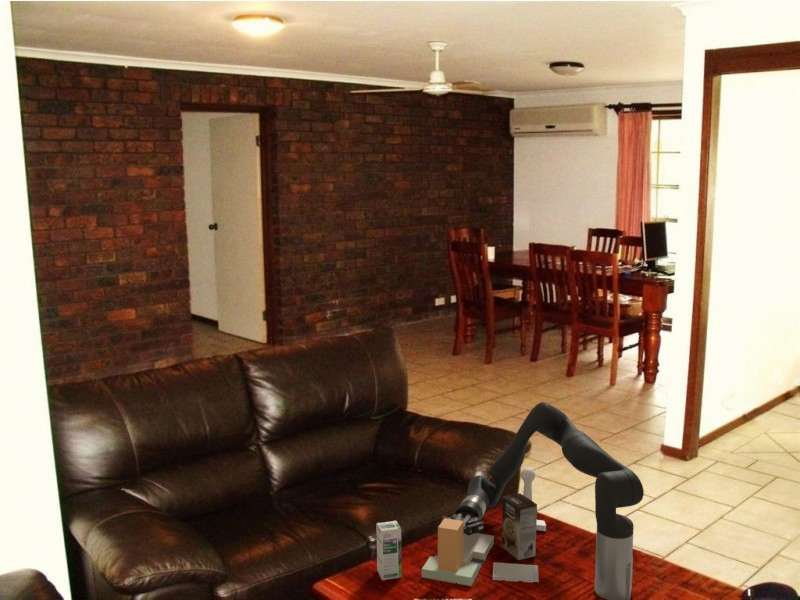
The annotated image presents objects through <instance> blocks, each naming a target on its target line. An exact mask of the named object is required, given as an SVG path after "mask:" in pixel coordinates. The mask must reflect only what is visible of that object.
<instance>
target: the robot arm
mask: <svg viewBox="0 0 800 600" xmlns="http://www.w3.org/2000/svg"><path fill="white" fill-rule="evenodd" d="M536 432H537V433H538V434H541V435H542V436H544V437H545V438H548V439H549V440H551V441H553V442H555V443H556V444H557V445H559V446H560V447H561V452H562V456H564V458H565V459H566V461H567V462H569V464H570V465H571V466H572V467H573V468H575V469H576V470H577V471H578V472H580V473H583V474H584V475H587V476H590V477H593V478H595V484H594V500H595V501H594V503H595V506H594V507H595V508H594V509H595V510H594V511H595V512H594V513H595V519H596V520H595V521H596V540H595V542H596V543H595V567H594V569H595V570H594V592H595V593H596V595H597V596H599V597H600V598H602V599H605V600H631V596H632V587H633V564H634V563H633V562H634V558H633V552H634V551H633V550H634V549H633V548H634V530H635V529H634V528H635V527H634V522H633V520H632V519H630V518H629V517H627V516H625V515H623V514H620V513H617V509H618V508H627V507H633V506H636V505H638V504H640V503H641V502H642V500H643V498H644V495H645V494H644V493H645V491H644V486H643V483H642V481H641V480H640V478H639V476H638V475H637V474H636V473H635V472H634V471H633V470H632V469H630V468H628V467H627V466H625V465H624V464H622V463H621V462H620V461H618V460H616V459H615V458H614V457H613V456H612V455H610V454H609V453H608V452H607V451H605V450H604V449H603V448H601V446H600V445H599V444H598V443H597V442H595V440H593V439H592V438H591V437H590V436H589V435H588V434H586V433H585V432H584V431H582V430H580V429H578V428H577V427H576V425H574V423H573V422H572V421H571V419H570V418H569V417H568V416H567V415H566V413H564V412H563V411H561V410H560V409H558V408H557V407H555V406H553V405H551V404H550V403H548V402H545V401H542V402H539V403H537V404H535V406H534V407H533V408H532V409H531V410H530V411H529V413H528V414H527V416H526V418H525V419H524V421H523V422H522V424H521V425H520V427H519V428H518V430H517V431H516V432H515V435H514V436H513V438H512V440H511V442H510V443H509V444H508V446H507V447H506V449H505V450H504V451H503V452H502V453H501V455H500V456H499V457H498V458H497V459H496V461H495V462H494V463H492V465H491V466H490V468H489V470H488V471H489V474H490V476H491V478H492V479H493V480H494V483H495V484H493V482H492V481H491V480H489V479H488V478H487V477H485V476H484V475H483V474H482V475H481V474H478V475H475V476H474V477H473V478H471V480H470V481H469V484H468V486H467V495H466V497H465V498H463V499H462V501H461V503H459V506H458V507H457V508H456V510H455V511H454V513H453V515H451V516H450V517H447V515H443V516H442V521H443V520H444V518H447V519H453V520H460V521H464V523H463V535H464V534H466V535H472V534H475V533H481V532H484V530H485V529H484V528H485V524H484V521H482V519H483V518H484V516H485V512H486V510H487V509H488V508H493V507H494V506H496V505H497V503H498V502H499V500H500V498H501V496H502V494H503V491H504V489H505V487H506V485H507V484H508V483H509V481H510V480H511V479H512V478H513V477H514V476H515V474H517V472H518V471H519V470H520V468H521V467H522V465H523V463H524V460H525V454H526V449H527V445H528V443H529V440H530V438H532V436H533V435H534V434H535V433H536Z"/></svg>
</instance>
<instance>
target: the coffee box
mask: <svg viewBox="0 0 800 600" xmlns="http://www.w3.org/2000/svg"><path fill="white" fill-rule="evenodd" d="M501 515H502V517H501V518H502V519H501V520H502V522H501V523H502V524H501V525H502V527H501V529H502V531H501V547H502V549H504V550H505V551H506V552H507V553H509V554H510V555H511V556H512V557H513V558H515V559H516V560H518V561H521V560H525V559H529V558H533V557H536V552H537V550H536V548H537V530H536V524H537V520H538V504H537V503H536V502H534V501H533V500H532V501H531V500H530V499H528V498H527V497H525V496H524V495H523V493H520V492H519V493H513V494H507V495H504V496H503V495H502V513H501Z"/></svg>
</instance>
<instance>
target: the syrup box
mask: <svg viewBox="0 0 800 600" xmlns="http://www.w3.org/2000/svg"><path fill="white" fill-rule="evenodd" d="M375 527H376V564H377V565H376V566H377V567H376V570H377V573H378V575H379V577H380V579H381V580H382V581H386V580H395V579H400V578H402V577H403V570H402V569H403V566H402V565H403V564H402V563H403V561H402V557H403V556H402V553H403V551H402V528H401V526H400V524H399V522H398V521H397V520H393V521H385V522H377V523H376V526H375Z"/></svg>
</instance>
